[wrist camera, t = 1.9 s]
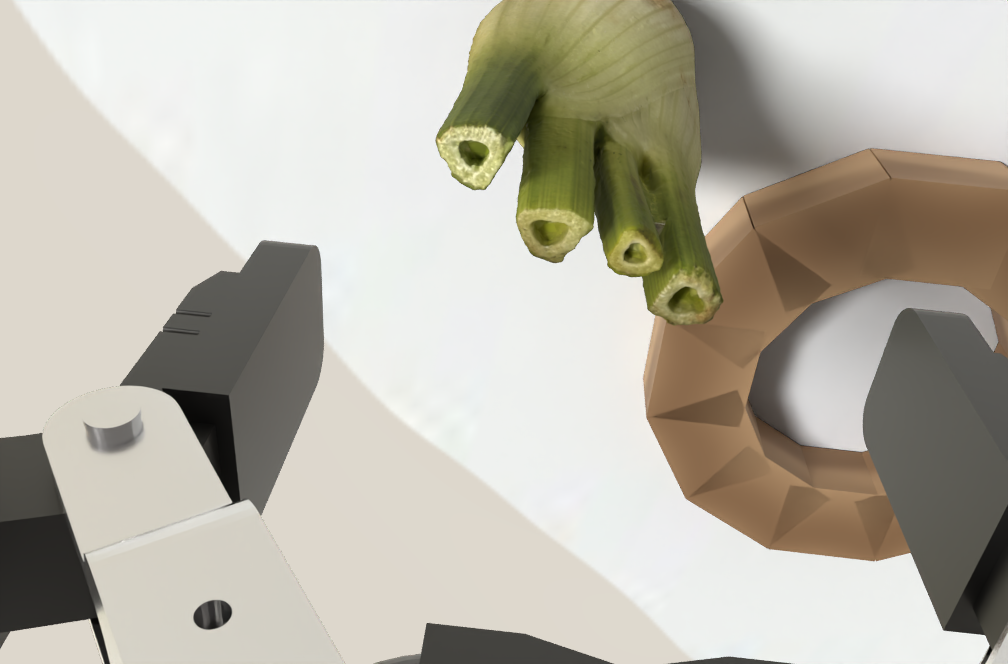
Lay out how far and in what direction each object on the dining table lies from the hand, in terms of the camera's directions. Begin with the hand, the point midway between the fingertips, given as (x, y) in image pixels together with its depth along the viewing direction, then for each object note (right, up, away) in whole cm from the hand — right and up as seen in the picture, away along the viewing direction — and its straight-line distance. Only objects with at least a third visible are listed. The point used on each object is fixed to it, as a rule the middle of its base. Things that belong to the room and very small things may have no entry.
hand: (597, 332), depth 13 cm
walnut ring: (+11, -1, +17) cm, 20 cm away
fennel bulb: (+1, +8, +13) cm, 15 cm away
